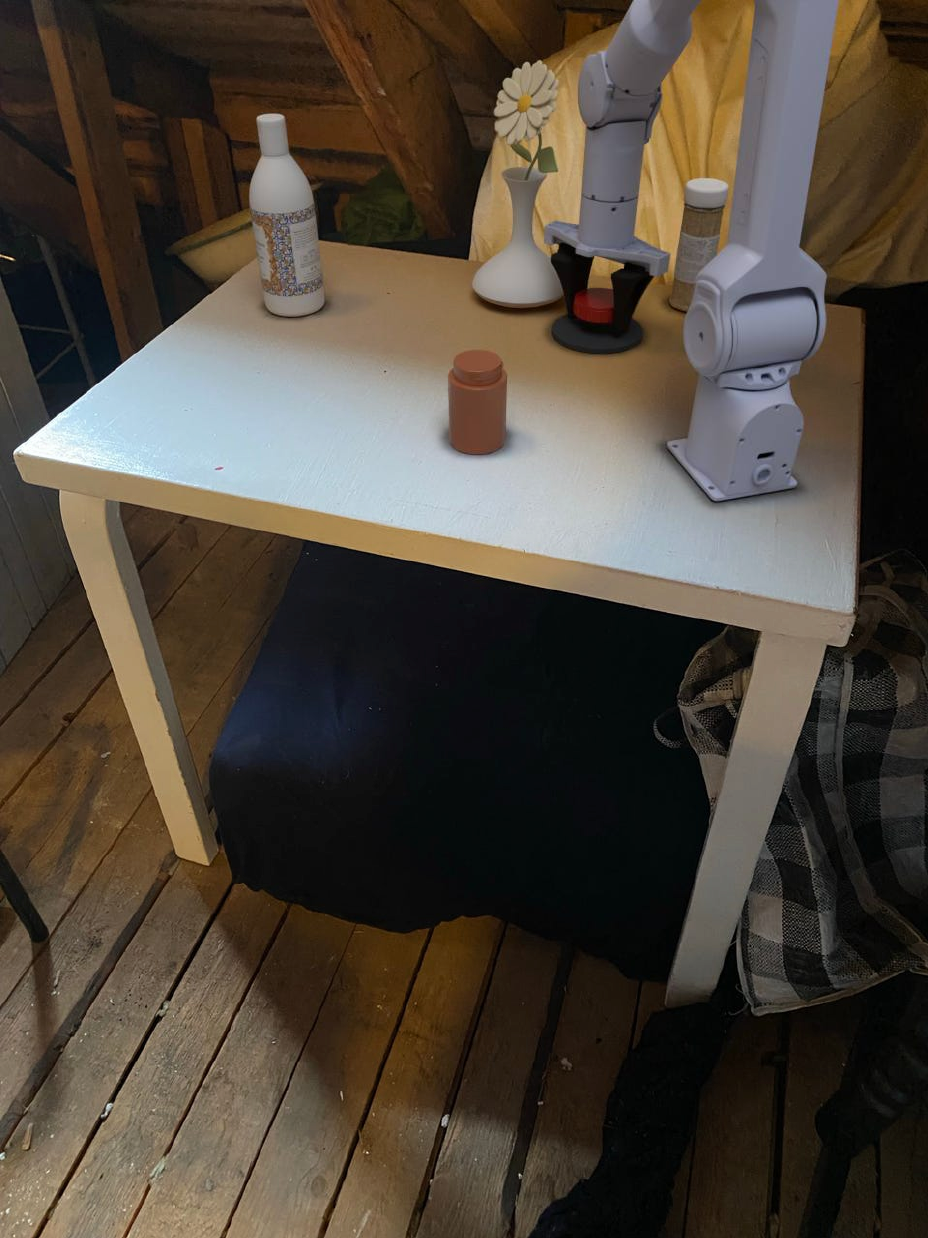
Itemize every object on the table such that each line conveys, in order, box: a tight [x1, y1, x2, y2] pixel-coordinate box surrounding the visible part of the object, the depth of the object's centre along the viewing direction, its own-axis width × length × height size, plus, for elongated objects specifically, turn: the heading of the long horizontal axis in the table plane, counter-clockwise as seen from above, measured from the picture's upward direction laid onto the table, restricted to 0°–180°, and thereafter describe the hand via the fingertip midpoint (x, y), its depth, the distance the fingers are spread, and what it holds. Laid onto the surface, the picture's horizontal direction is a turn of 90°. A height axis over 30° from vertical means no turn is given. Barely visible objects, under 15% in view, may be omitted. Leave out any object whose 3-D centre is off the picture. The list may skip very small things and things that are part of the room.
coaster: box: [551, 313, 644, 355], centre depth 101 cm, size 10×10×1 cm
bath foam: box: [248, 113, 326, 318], centre depth 101 cm, size 7×7×20 cm
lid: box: [573, 287, 614, 323], centre depth 100 cm, size 6×6×2 cm
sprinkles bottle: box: [668, 177, 730, 313], centre depth 103 cm, size 5×5×13 cm
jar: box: [447, 349, 508, 456], centre depth 82 cm, size 5×5×8 cm
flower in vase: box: [471, 59, 564, 309], centre depth 100 cm, size 13×11×25 cm
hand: (597, 323), depth 101 cm, fingers closed on lid, 5 cm apart
